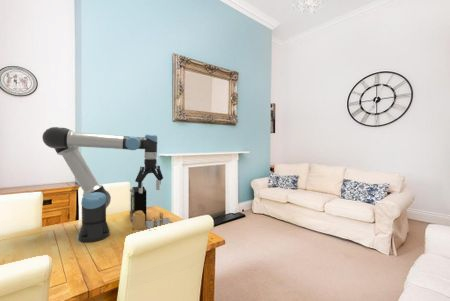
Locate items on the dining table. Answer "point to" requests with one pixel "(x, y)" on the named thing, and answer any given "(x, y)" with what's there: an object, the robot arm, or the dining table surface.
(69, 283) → the dining table surface
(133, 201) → the electrical component
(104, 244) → the dining table surface
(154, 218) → the amber glass cylinder
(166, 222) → the plate
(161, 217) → the brass rounded peg
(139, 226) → the cube with dome knob
